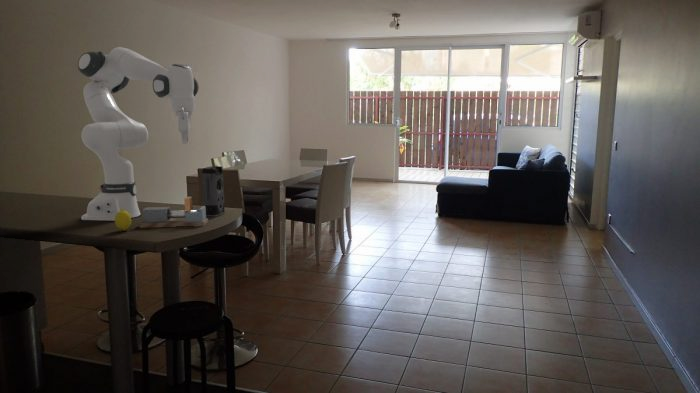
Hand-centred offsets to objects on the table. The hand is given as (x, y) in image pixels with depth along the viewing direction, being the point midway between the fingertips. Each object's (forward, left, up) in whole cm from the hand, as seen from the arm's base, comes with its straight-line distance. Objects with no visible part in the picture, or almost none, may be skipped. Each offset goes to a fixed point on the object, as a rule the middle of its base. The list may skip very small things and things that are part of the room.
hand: (185, 142), depth 210 cm
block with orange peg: (-2, -8, -28) cm, 30 cm away
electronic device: (+8, +10, -31) cm, 34 cm away
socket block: (+4, -8, -29) cm, 31 cm away
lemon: (-20, -17, -31) cm, 41 cm away
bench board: (-4, -8, -31) cm, 32 cm away
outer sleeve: (-10, -8, -29) cm, 32 cm away
